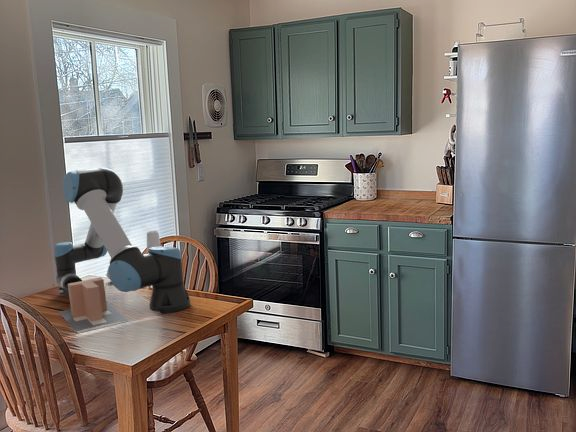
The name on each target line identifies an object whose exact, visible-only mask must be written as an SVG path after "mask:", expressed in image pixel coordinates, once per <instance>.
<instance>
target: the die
mask: <svg viewBox="0 0 576 432" xmlns="http://www.w3.org/2000/svg"><path fill="white" fill-rule="evenodd" d="M109 266H110V264H109V265H108V267H107V271H106V274H105V276H106V278H108V279H109V280H110V275H109Z"/></svg>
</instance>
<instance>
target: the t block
mask: <svg viewBox="0 0 576 432" xmlns="http://www.w3.org/2000/svg"><path fill="white" fill-rule="evenodd" d="M68 291H69V296H68V298H69V303H70V305H69V306H70V309H71V313H72V316H73V317H74V318H75V317H80V316H84V315H86V316H87V317H88V318H89V319H90V320H91V321H95V320H99V319H103V317H102V311H107V304H106V302H107V299H106V289H105V281H104V278H102V277H97V278H91V279H87V280H82V281H80V282H74V283H69V284H68Z"/></svg>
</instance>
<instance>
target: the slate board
mask: <svg viewBox="0 0 576 432" xmlns="http://www.w3.org/2000/svg"><path fill="white" fill-rule="evenodd" d="M106 304H107V311H102V317H103V319H99V320H95V321H91V320H90V319H89V318H88V317H87V316H86V315H84V316H80V317H75V318H74V317H73V316H72V313H71V308H70V309H65V310H61V311H58V313H59V314H60V315H61V316H62V317H63V318H64V320H65V321H66V323H67V324H68V325H69V326H70V328H72V331H74V332H78V333H76V335H77V334H79V331H82V330H83V331H82V332H80V334H82V333H87V332H90V331H92V328H94V329H93V331H95V330H96V329H95V327H99V328H97V330H98V329H103V328H108V327H109V324H112V325H110V327H112V326H113V323H116V324H114V326H116V325H120V324H124V323H126V321H125V320H128V318H127V317H125V316H124V315H123V314H122V313H121V312H119V310H117V309H116V308H115V307H114V306H113V305H112V304H110V303H109V302H108V301H106ZM122 321H124V322H122ZM117 322H120V323H117ZM104 325H107V326H104ZM100 326H103V327H100ZM88 329H90V330H88ZM84 330H86V331H84Z"/></svg>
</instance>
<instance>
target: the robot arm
mask: <svg viewBox="0 0 576 432" xmlns="http://www.w3.org/2000/svg"><path fill="white" fill-rule="evenodd" d="M62 192H63V198H64V199H65V201H66V202H67V203H70V204H73V203H75V205H76V208H77V209H79V210H80V211H84V212H85V214H86V217H87V218H88V220H89V221H90V223H89V224H90V225H89V228H88V231H87V234H86V238H85V241H84V243H79V244H73V243H72V241H64V242H58V243H56V244H54V246H53V253H54V254H53V256H54V262H55V267H56V269H55V271H56V275H55V276H56V277H55V280H56V283H57V285H59V288H58V290H59V291H58V292H59V295H64V296H67V297H69V291H68V284H69V283H74V282H80V281H83V280H82V278H81V277H80V276H78V274H77V270H76V264H77V263H81V262H82V263H83V262H86V261H92V260H97V259H99V258H102V257H105V256H107V253H108V255H109V257H110V260H109V265H110V266H109V265H108V267H109V275H110V279H109V280H110V282H111V283H112V285H113V286H114V287H115V289H117V290H118V291H120V292H124V293H129V292H136V291H138V290H141V289H143V288H148V287H151V286H152V288H151V289H152V291H151V296H150V300H149V304H148V305H149V309H150V310H152V311H155V312H160V313H161V314H167V313H168V314H170V313H176V312H179V311H183V310H185V309H187V308H189V307H190V306H191V299H190V296H189V294H188V293H189V292H188V291H187V290H186V287H185V283H184V282H185V281H184V272H183V263H182V260H183V259H182V258H183V257H182V255H181V250H180V248H177V247H174V246H161V247H152V248H149V250H148V252H149V253H148V254H147V253H144V254H143V253H142V251H141V249H140V248H139V247H138V246H133V245H132V243H131V241H130V239H129V238H128V236H127V235H126V233H125V231H124V229H123V227H122V225H121V224H120V222H119V221H118V218H116V216H115V209H116V207H117V204H119V203H120V202H121V200H122V197H123V194H124V193H123V192H124V187H123V181H122V179H121V177H120V176H119V174H118V173H117V172H116V171H114V170H112V169H110V168H107V167H98V168H90V169H88V168H87V169H82V170H81V169H80V170H78V169H76V170H73V171H68V172H67V173H65V175H64V177H63V180H62Z"/></svg>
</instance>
